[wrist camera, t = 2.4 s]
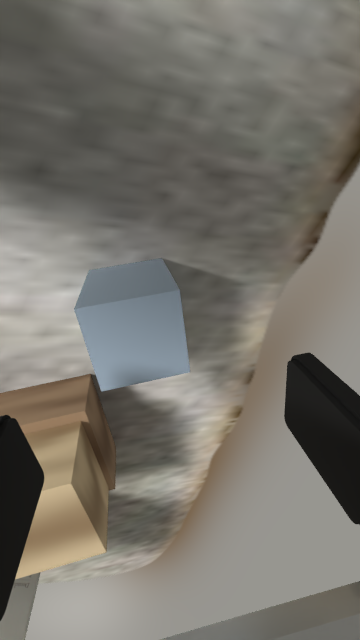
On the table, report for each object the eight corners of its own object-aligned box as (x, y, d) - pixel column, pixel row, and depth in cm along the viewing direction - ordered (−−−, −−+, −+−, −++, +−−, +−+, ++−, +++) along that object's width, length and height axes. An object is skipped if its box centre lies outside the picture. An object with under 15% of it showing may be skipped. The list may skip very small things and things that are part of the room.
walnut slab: (-25, 395, 19) (-57, 443, 16) (91, 371, 20) (84, 410, 17) (20, 467, 23) (2, 519, 19) (116, 443, 24) (115, 488, 20)
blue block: (89, 270, 17) (74, 309, 11) (161, 257, 17) (179, 289, 12) (107, 333, 19) (101, 391, 13) (171, 320, 19) (190, 372, 14)
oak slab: (-41, 450, 16) (-85, 524, 13) (80, 420, 17) (70, 483, 13) (9, 514, 19) (-16, 588, 16) (108, 488, 20) (106, 552, 17)
